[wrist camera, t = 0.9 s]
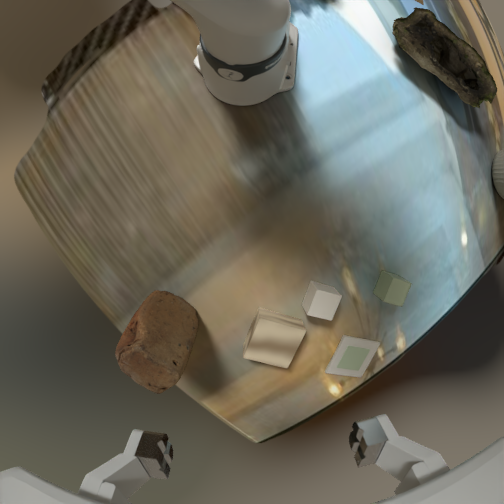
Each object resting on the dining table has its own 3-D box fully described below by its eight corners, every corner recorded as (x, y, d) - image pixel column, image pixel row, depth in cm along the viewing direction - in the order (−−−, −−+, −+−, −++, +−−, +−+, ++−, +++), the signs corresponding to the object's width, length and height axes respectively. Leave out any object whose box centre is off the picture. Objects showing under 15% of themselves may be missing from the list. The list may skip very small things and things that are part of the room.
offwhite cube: (310, 280, 51) (317, 289, 46) (333, 286, 51) (342, 296, 46) (301, 303, 52) (307, 314, 47) (324, 309, 52) (331, 320, 47)
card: (343, 334, 54) (344, 336, 53) (379, 341, 54) (380, 343, 54) (324, 371, 56) (325, 373, 55) (360, 376, 57) (361, 377, 56)
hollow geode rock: (457, 107, 47) (491, 78, 34) (471, 126, 40) (511, 93, 28) (379, 30, 42) (412, -5, 30) (381, 33, 35) (422, -9, 23)
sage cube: (381, 270, 51) (393, 277, 46) (399, 276, 51) (411, 283, 46) (372, 292, 52) (383, 301, 47) (390, 297, 52) (401, 306, 47)
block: (205, 315, 52) (187, 380, 32) (183, 338, 53) (159, 404, 33) (162, 278, 50) (120, 328, 30) (141, 304, 51) (98, 359, 31)
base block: (258, 306, 52) (259, 318, 47) (301, 318, 53) (306, 331, 48) (243, 343, 54) (243, 357, 49) (284, 354, 54) (287, 368, 50)
